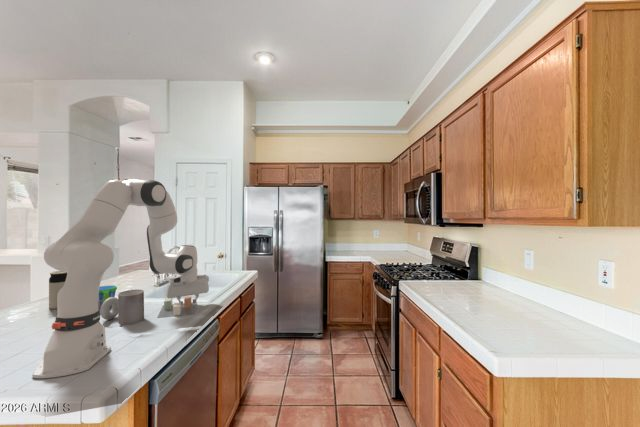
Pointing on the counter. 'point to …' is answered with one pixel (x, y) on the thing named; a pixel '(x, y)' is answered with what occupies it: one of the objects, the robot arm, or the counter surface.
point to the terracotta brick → (187, 302)
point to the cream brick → (177, 309)
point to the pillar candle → (130, 307)
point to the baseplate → (184, 311)
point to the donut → (106, 306)
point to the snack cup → (106, 294)
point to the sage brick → (168, 303)
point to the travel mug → (55, 286)
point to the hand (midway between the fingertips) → (187, 304)
